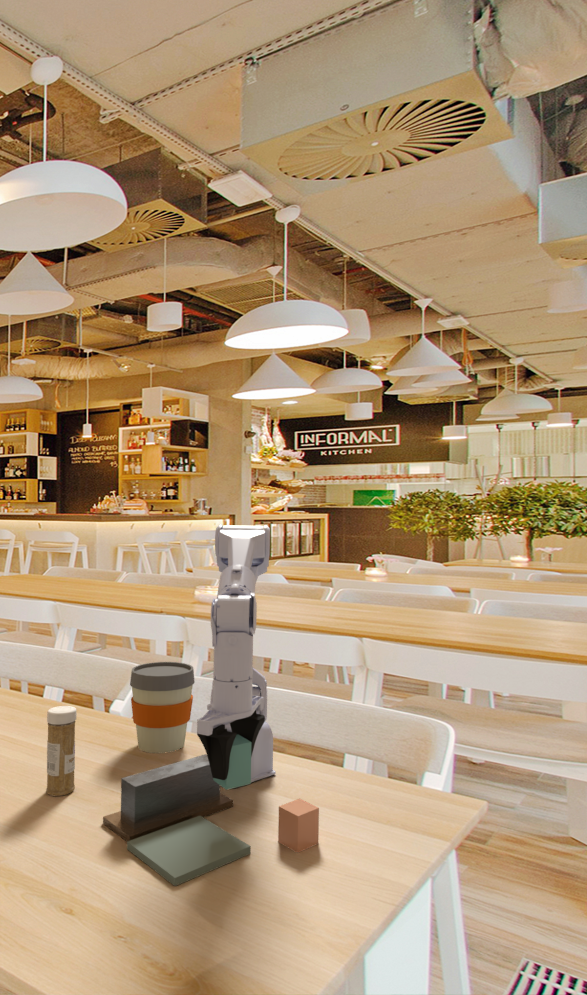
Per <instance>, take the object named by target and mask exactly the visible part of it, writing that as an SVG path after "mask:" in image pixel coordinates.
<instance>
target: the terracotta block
mask: <svg viewBox="0 0 587 995" xmlns="http://www.w3.org/2000/svg"><path fill="white" fill-rule="evenodd" d="M319 819H320V808H319V807H318V806H316V805H314V804H312V803H310V802H308V801H305V800H304V799H301V798H297V799H295V800H292V801H289V802H287V803H284V804H281V805H279V806H278V831H277V832H278V836H277V838H278V839H277V840H278V841H277V842H278V843H280V844H281V845H283V846H284V847H286V848H288V849H290V850H291V851H294V852H295V853H297V854H298V853H300V852H302V851H304V850H307V849H309V848H311V847H314V846H315V845H316V846H317V845H319V837H320V836H319V833H320V832H319V829H320V828H319V826H320V823H319V822H320V820H319Z"/></svg>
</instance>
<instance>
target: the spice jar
mask: <svg viewBox="0 0 587 995" xmlns="http://www.w3.org/2000/svg"><path fill="white" fill-rule="evenodd" d="M46 714H47V716H46V722H47V740H46V741H47V746H46V774H47V779H46V788H45V792H46V794H48V795H49V796H53V797H59V796H66V795H68V794H71V793H72V792H74V791H75V788H76V786H75V785H76V784H75V768H76V767H75V766H76V740H75V739H76V736H75V735H76V720H77V708H76V707H75V706H72V705H61V706H60V705H58V706H54V707H51V708H49V709H48V710H47V713H46Z"/></svg>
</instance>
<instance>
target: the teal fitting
mask: <svg viewBox="0 0 587 995" xmlns="http://www.w3.org/2000/svg"><path fill="white" fill-rule="evenodd" d="M213 780H214V781H215V782H216V783H218V784H219V785H220V787H222V788H223V789H225V790H226V791H227V790H232V789H235V788H240V787H243V786H244V787H245V786H247V785H251V783H252V782H251V742H250V741H249V740H247V739H245V738H244V737H242V736H240V735H238V734H237V735H236V737H235V740H234V742H233V745H232V749H231V753H230V760H229V771H228V776H227V779H225V780H220V779H216V778H213Z"/></svg>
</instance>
